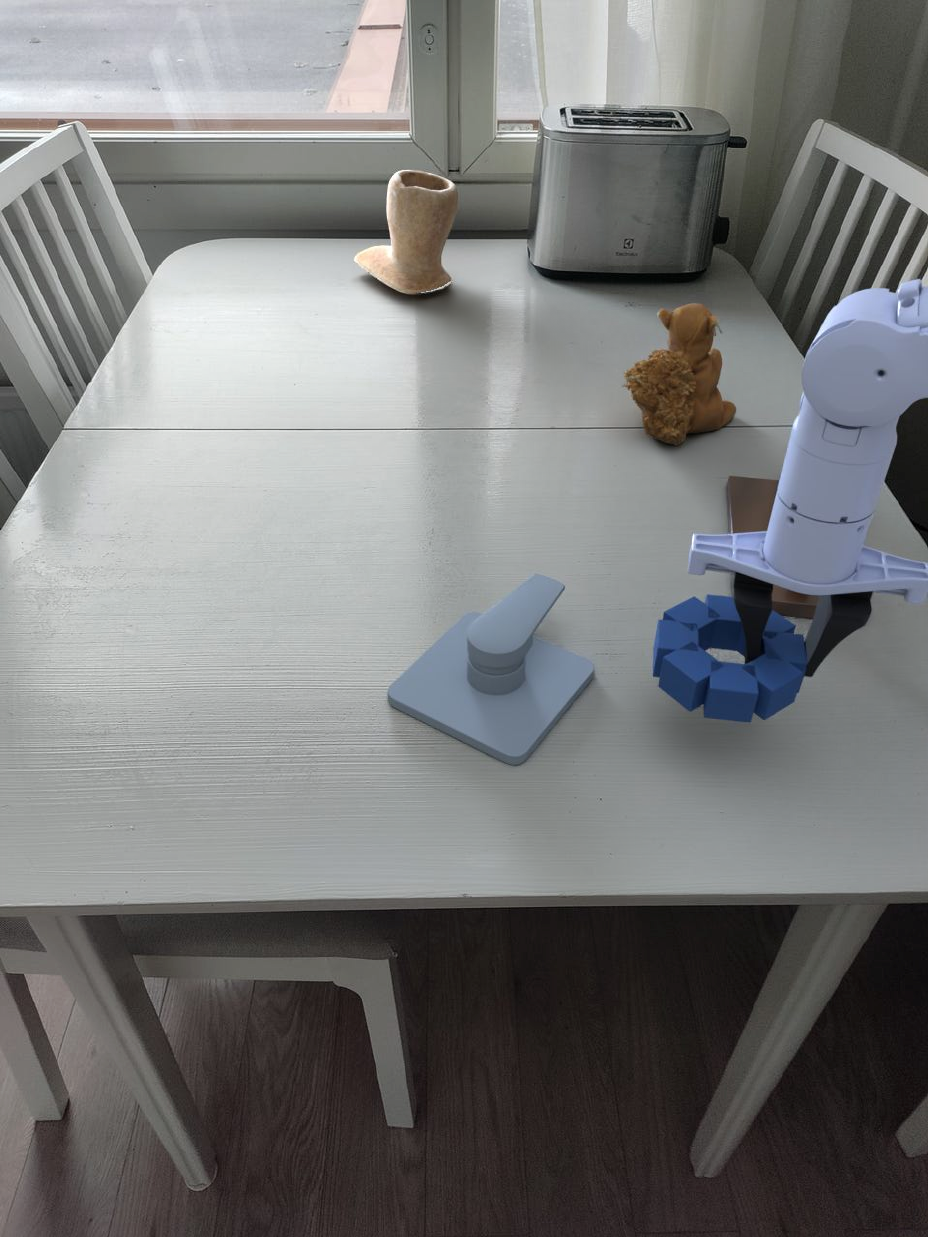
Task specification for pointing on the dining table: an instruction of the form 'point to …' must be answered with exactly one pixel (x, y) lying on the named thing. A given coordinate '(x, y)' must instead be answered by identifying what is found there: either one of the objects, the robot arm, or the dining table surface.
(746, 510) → the peg rack
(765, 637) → the ring
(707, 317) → the stuffed squirrel
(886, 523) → the dining table surface
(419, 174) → the stone cup
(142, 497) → the dining table surface
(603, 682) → the dining table surface
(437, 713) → the shower valve
